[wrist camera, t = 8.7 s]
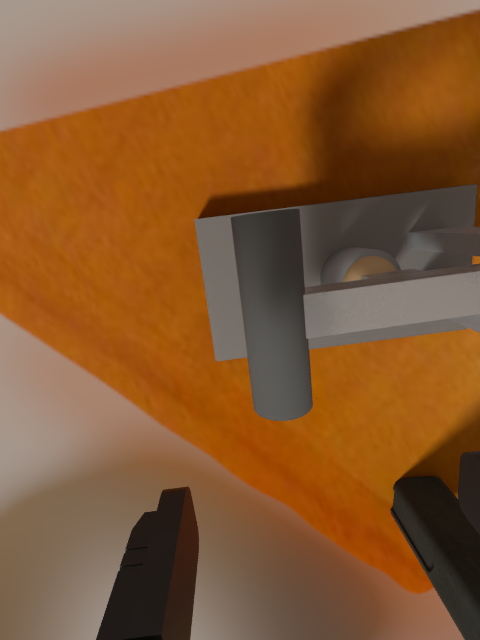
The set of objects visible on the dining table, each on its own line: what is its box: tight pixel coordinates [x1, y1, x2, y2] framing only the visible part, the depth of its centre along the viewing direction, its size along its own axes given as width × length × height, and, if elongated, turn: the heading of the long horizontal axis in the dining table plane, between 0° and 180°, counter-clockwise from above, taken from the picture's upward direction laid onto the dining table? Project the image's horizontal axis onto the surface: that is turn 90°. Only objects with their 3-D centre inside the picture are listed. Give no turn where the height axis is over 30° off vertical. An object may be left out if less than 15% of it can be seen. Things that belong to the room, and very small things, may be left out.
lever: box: [231, 209, 480, 421], centre depth 17 cm, size 16×10×4 cm, turn 97°
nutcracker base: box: [194, 184, 480, 361], centre depth 21 cm, size 20×11×12 cm, turn 97°
